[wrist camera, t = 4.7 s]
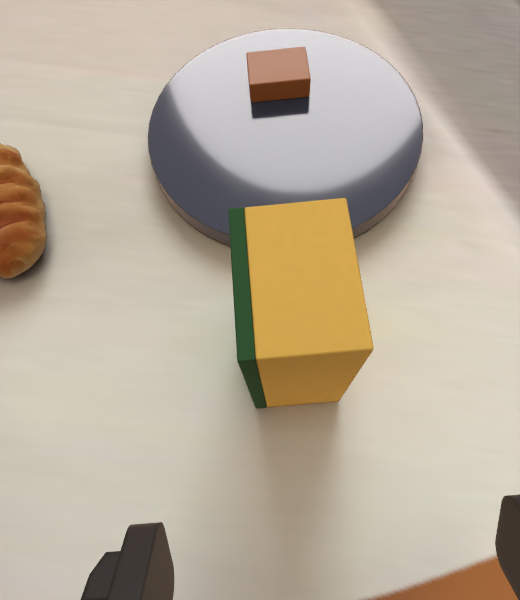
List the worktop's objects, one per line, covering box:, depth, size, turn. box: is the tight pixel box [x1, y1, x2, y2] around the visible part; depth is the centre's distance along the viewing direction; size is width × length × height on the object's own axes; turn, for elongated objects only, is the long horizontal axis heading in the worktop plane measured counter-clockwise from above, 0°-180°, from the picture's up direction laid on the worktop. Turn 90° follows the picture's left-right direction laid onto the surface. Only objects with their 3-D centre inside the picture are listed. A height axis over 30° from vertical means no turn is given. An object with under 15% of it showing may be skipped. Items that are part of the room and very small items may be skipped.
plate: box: [148, 28, 423, 246], centre depth 30 cm, size 18×18×2 cm
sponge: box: [229, 198, 373, 408], centre depth 20 cm, size 4×6×10 cm
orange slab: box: [246, 47, 311, 102], centre depth 30 cm, size 4×3×2 cm
